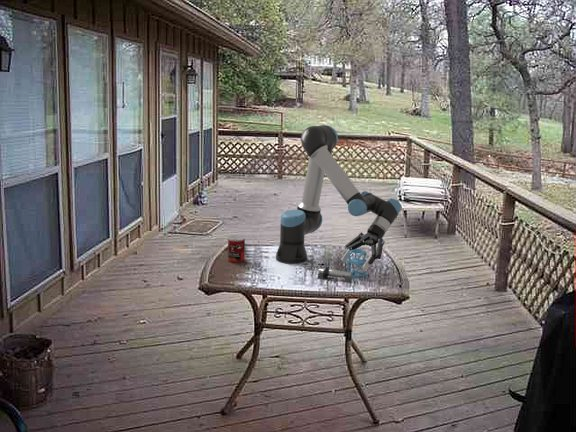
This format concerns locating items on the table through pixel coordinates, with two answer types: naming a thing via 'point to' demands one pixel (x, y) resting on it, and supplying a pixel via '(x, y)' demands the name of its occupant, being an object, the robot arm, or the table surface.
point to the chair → (357, 263)
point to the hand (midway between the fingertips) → (353, 265)
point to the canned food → (236, 249)
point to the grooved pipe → (334, 274)
